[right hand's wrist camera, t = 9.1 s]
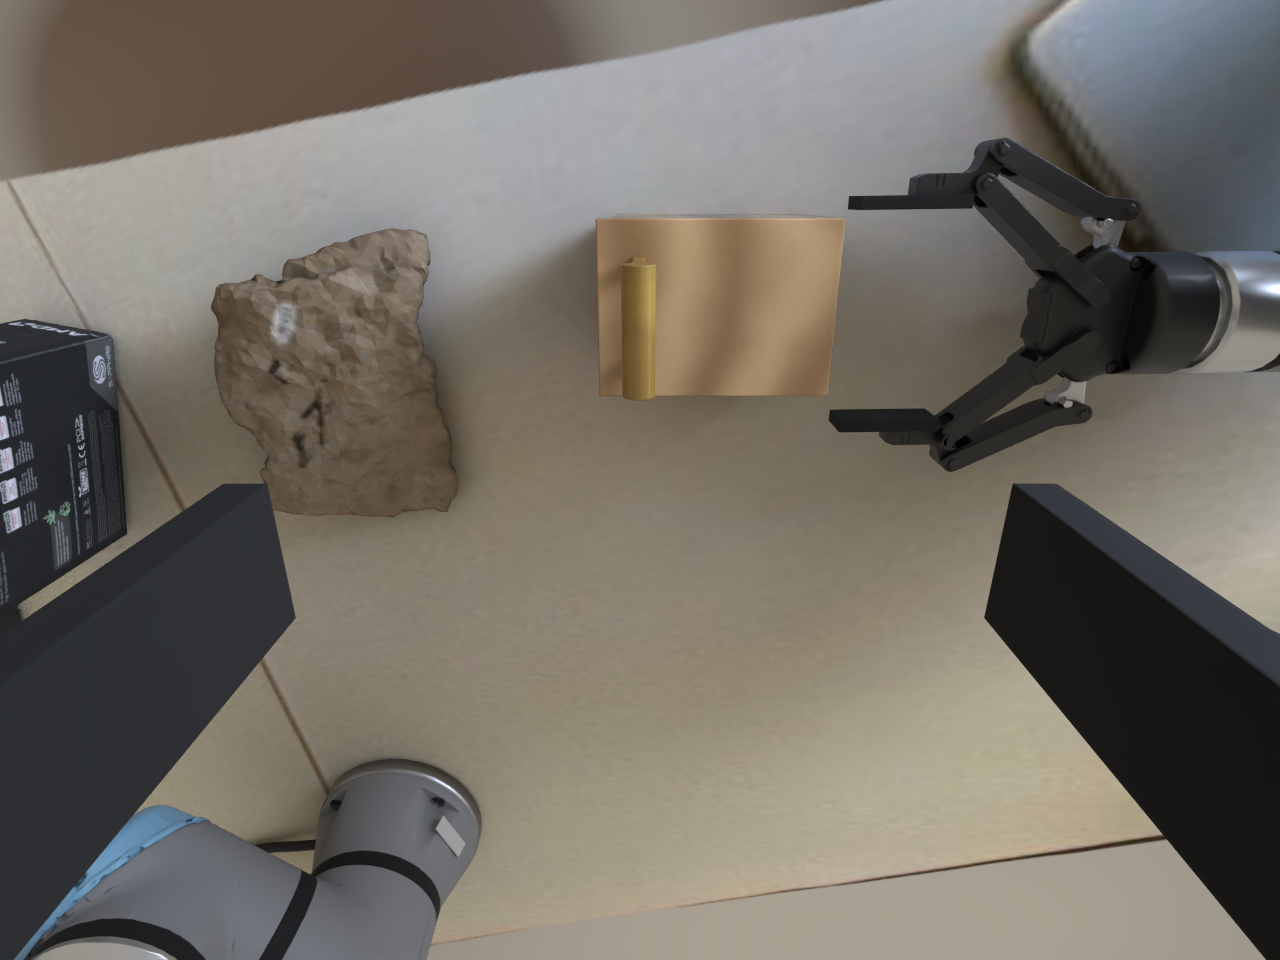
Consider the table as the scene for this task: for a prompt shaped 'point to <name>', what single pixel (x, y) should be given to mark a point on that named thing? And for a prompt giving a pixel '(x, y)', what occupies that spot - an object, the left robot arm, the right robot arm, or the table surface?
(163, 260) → the table surface
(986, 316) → the table surface
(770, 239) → the lid
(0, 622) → the robot
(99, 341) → the graphics card box
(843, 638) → the table surface
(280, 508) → the stone
